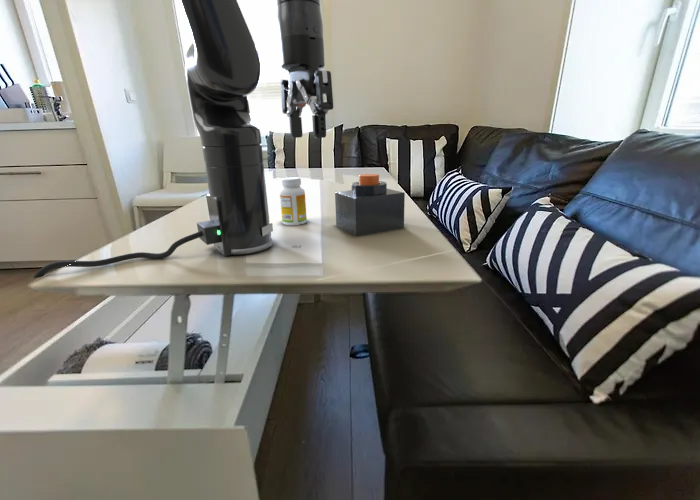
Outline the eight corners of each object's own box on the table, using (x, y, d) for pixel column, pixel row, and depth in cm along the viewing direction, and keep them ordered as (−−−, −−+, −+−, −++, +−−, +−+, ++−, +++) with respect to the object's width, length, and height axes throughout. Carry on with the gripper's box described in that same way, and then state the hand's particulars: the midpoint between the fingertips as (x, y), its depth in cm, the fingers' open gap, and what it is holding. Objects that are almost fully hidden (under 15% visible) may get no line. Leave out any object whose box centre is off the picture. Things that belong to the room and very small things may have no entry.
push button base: (356, 236, 68) (355, 188, 65) (336, 226, 75) (334, 183, 72) (404, 228, 72) (405, 183, 69) (380, 219, 80) (380, 178, 77)
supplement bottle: (305, 218, 82) (302, 176, 79) (308, 224, 77) (305, 179, 74) (281, 220, 81) (277, 177, 78) (283, 226, 76) (279, 180, 73)
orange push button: (365, 187, 69) (365, 176, 68) (355, 185, 72) (355, 174, 71) (382, 185, 70) (382, 175, 70) (372, 183, 74) (372, 173, 73)
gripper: (263, 44, 64) (272, 138, 69) (302, 24, 53) (309, 138, 58) (300, 48, 68) (306, 137, 74) (343, 31, 57) (346, 136, 63)
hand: (307, 137), depth 66 cm, fingers open, 8 cm apart
